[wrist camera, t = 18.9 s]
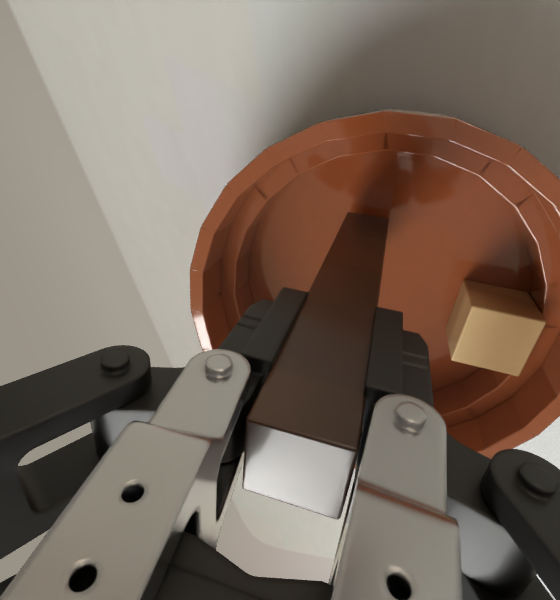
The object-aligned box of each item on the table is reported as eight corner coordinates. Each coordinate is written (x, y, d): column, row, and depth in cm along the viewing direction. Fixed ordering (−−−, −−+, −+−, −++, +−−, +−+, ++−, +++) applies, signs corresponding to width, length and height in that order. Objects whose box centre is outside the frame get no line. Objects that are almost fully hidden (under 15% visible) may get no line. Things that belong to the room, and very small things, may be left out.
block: (444, 328, 21) (450, 360, 18) (463, 278, 19) (472, 305, 17) (505, 342, 20) (519, 377, 18) (528, 291, 19) (547, 321, 16)
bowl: (226, 369, 27) (192, 419, 23) (235, 91, 19) (185, 88, 15) (488, 440, 24) (506, 514, 19) (641, 135, 15) (732, 148, 11)
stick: (340, 249, 20) (241, 489, 8) (347, 211, 19) (245, 418, 7) (380, 257, 19) (340, 522, 7) (389, 218, 18) (359, 450, 6)
